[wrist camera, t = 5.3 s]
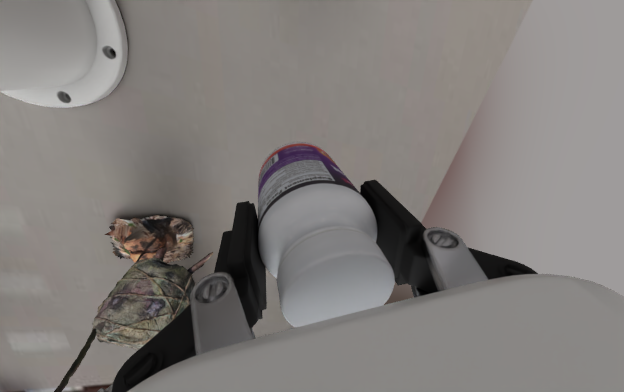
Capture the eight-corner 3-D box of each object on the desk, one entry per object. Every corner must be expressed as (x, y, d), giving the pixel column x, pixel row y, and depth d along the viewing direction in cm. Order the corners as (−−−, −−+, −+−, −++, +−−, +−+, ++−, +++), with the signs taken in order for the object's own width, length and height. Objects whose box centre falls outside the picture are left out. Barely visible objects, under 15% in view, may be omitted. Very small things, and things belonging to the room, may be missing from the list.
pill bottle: (340, 196, 17) (415, 314, 9) (274, 218, 17) (287, 360, 9) (325, 128, 14) (416, 210, 6) (245, 153, 14) (225, 275, 6)
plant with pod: (204, 271, 31) (129, 518, 14) (106, 251, 27) (-179, 575, 10) (223, 227, 28) (157, 472, 11) (116, 198, 24) (-267, 523, 7)
